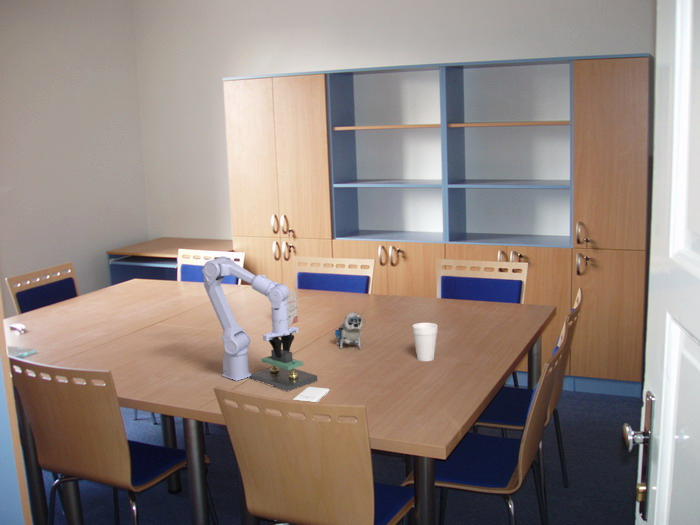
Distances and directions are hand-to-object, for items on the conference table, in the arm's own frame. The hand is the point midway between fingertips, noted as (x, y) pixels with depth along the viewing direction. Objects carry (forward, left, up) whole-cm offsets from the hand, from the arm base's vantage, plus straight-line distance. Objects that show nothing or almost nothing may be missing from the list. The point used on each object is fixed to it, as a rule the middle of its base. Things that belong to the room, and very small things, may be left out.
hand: (282, 356), depth 262 cm
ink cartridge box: (-61, +53, -9) cm, 82 cm away
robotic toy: (-11, +45, -9) cm, 47 cm away
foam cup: (+23, +51, -9) cm, 57 cm away
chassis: (0, 0, -9) cm, 9 cm away
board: (0, 0, -3) cm, 3 cm away
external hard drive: (+20, -5, -10) cm, 23 cm away
